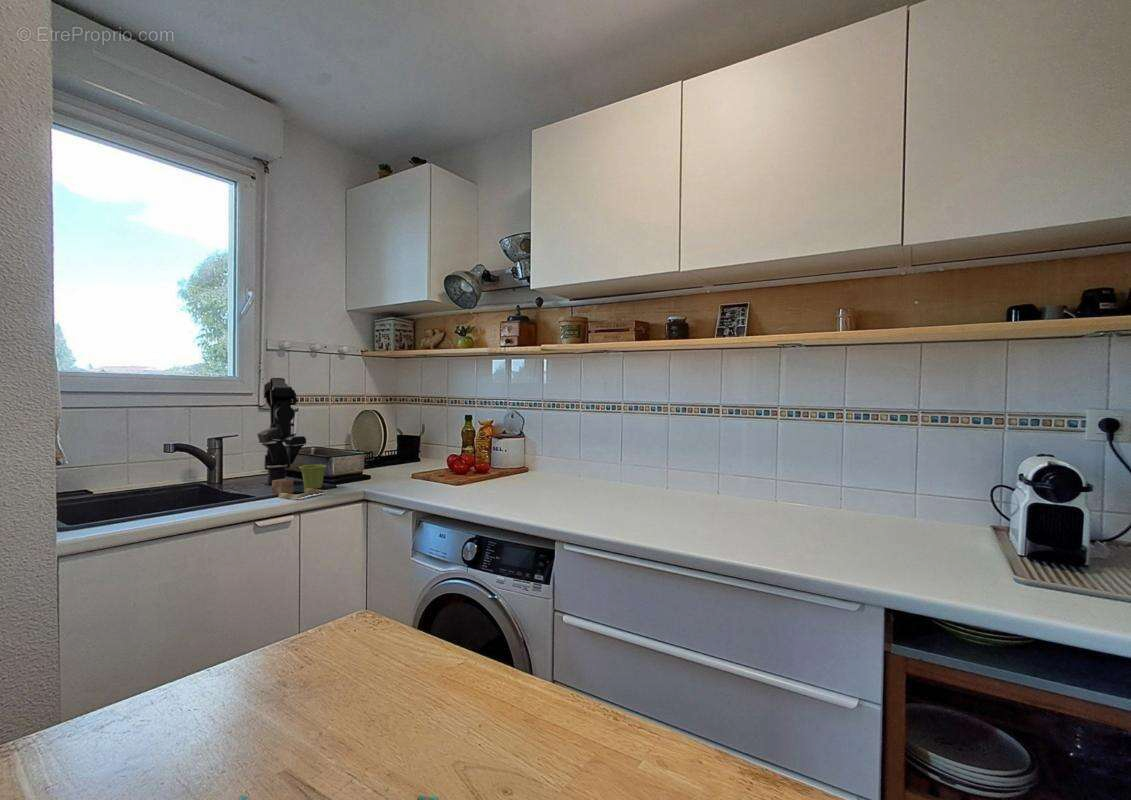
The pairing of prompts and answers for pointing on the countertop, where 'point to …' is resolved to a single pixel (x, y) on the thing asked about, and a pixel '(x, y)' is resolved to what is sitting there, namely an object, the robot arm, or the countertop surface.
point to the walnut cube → (283, 486)
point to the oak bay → (306, 490)
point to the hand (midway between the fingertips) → (282, 462)
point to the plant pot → (312, 476)
